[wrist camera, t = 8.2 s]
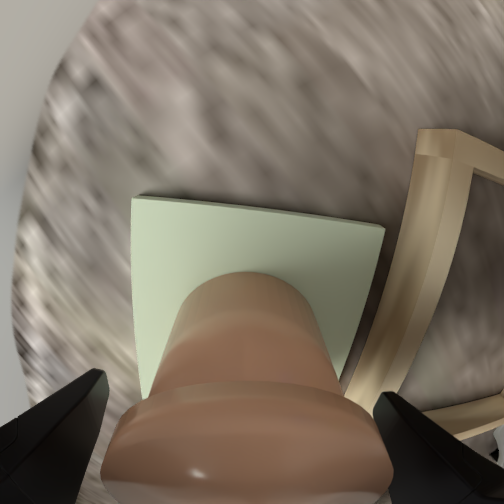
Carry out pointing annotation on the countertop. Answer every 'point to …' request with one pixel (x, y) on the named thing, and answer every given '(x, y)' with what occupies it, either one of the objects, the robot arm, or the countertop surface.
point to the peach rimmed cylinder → (246, 410)
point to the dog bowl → (499, 446)
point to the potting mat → (245, 265)
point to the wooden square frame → (427, 274)
